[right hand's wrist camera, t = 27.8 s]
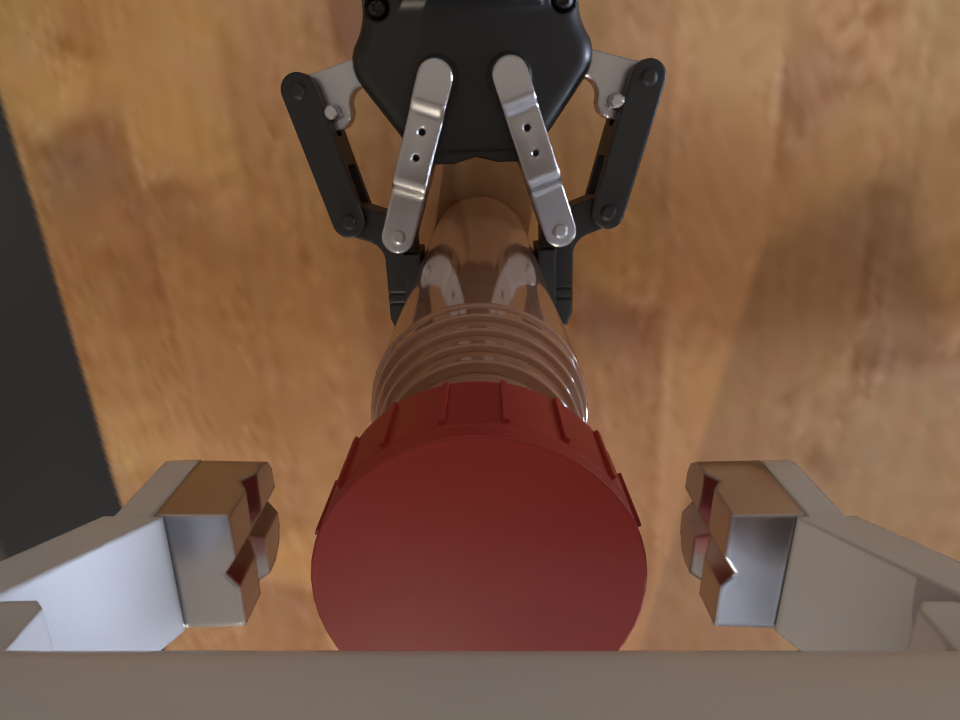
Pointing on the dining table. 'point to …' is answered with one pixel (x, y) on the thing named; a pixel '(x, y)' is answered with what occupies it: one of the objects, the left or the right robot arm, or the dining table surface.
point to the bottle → (479, 315)
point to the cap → (479, 530)
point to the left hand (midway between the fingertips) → (482, 333)
